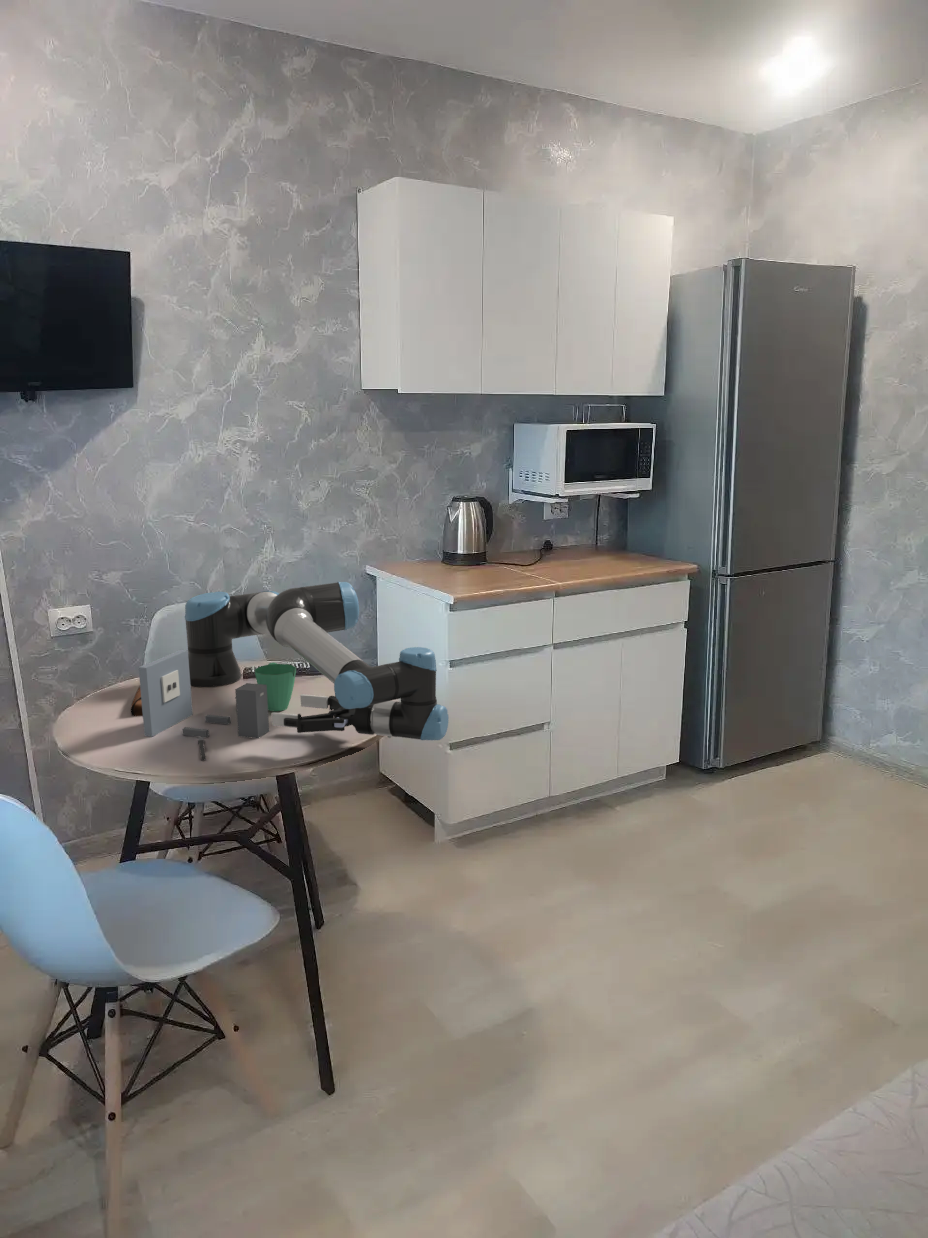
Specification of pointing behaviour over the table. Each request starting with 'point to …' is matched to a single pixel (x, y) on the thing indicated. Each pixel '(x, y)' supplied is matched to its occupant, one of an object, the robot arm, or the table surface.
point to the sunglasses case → (137, 704)
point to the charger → (252, 710)
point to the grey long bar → (202, 748)
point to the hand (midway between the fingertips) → (287, 709)
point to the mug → (277, 684)
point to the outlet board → (169, 695)
